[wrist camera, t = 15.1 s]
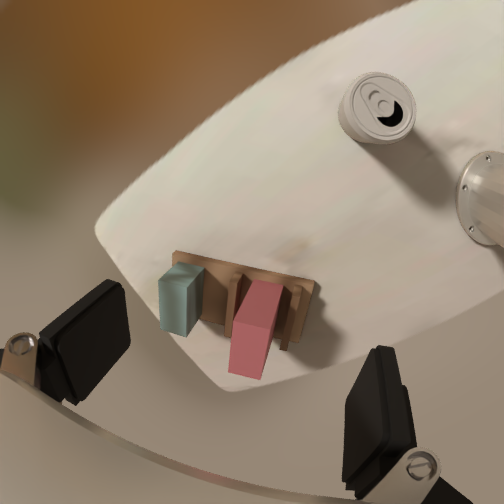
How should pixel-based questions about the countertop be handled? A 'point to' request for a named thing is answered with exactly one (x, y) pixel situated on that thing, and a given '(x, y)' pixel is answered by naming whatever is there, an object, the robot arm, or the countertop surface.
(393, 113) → the beverage can
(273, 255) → the countertop surface
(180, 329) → the rack
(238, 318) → the dusty red block
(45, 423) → the robot arm
